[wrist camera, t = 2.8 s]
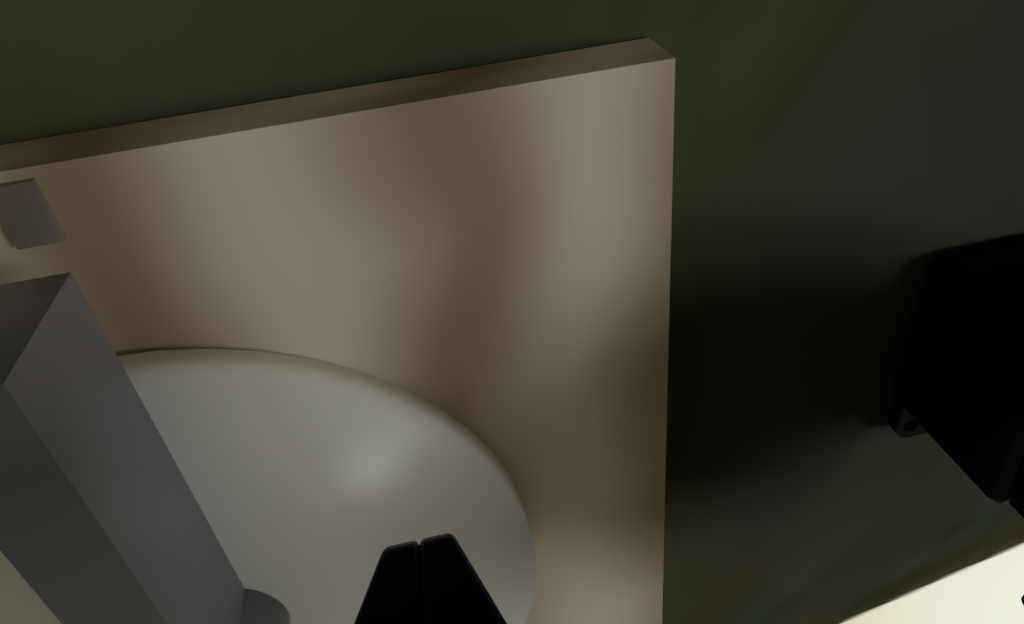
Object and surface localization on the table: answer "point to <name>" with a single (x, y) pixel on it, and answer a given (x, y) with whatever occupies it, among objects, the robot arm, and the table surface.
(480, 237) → the dial base
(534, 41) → the table surface
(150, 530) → the dial
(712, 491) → the table surface
